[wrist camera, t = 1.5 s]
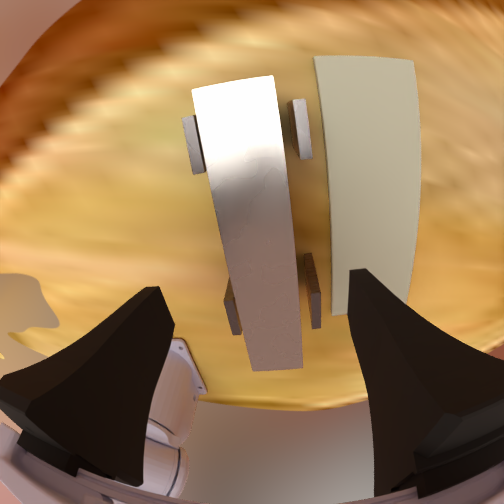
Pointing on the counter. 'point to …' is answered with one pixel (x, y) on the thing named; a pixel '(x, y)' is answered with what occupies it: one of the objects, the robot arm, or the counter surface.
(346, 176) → the mat
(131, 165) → the counter surface
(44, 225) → the counter surface
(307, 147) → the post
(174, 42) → the counter surface
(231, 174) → the rail
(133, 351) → the robot arm
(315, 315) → the brown boxy piece
